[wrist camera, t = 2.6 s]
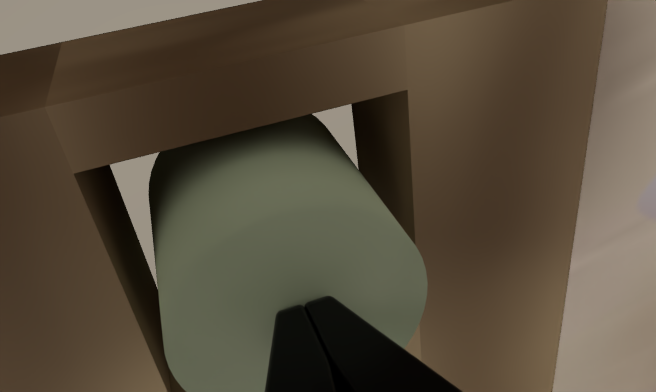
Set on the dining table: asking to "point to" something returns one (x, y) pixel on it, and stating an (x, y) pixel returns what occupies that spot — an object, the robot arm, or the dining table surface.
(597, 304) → the dining table surface
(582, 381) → the dining table surface
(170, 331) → the button sage
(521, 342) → the brown button tray
